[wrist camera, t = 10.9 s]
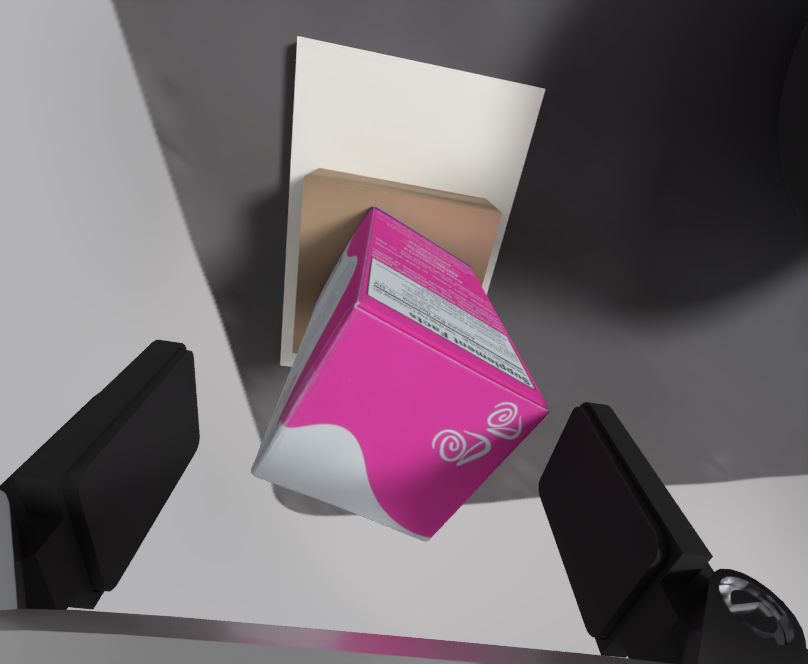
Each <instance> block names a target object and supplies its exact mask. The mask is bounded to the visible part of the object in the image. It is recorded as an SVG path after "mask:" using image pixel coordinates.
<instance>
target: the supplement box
mask: <svg viewBox="0 0 808 664" xmlns="http://www.w3.org/2000/svg"><path fill="white" fill-rule="evenodd" d="M548 413H549V408H548V406H547V404H546V402H545V400H544V398H543V397H542V395H541V393H540V391H539V389H538V387H537V386H536V384H535V382H534V380H533V379H532V377H531V375H530V373H529V371H528V369H527V368H526V366H525V364H524V362H523V360H522V359H521V357H520V355H519V353H518V351H517V349H516V348H515V346H514V344H513V342H512V340H511V338H510V337H509V335H508V333H507V331H506V329H505V328H504V326H503V324H502V322H501V321H500V319H499V317H498V315H497V313H496V312H495V310H494V308H493V306H492V304H491V302H490V301H489V299H488V297H487V295H486V293H485V291H484V290H483V288H482V286H481V284H480V282H479V280H478V279H477V277H476V275H475V273H474V271H473V269H472V267H471V266H469V265H468V264H466V263H465V262H463V261H461V260H460V259H458V258H457V257H455V256H454V255H452V254H450V253H449V252H447V251H446V250H444V249H442V248H441V247H439V246H438V245H436V244H435V243H433V242H432V241H430V240H428V239H427V238H425V237H424V236H422V235H420V234H419V233H417V232H416V231H414V230H413V229H411V228H409V227H408V226H406V225H405V224H403V223H401V222H400V221H398V220H397V219H395V218H393V217H392V216H390V215H388V214H387V213H385V212H383V211H382V210H380V209H378V208H377V207H371V208H370V209H369V211H368V212H367V213H366V215H365V216H364V218H363V220H362V221H361V223H360V224H359V226H358V228H357V229H356V231H355V233H354V234H353V236H352V238H351V240H350V241H349V243H348V245H347V247H346V248H345V250H344V252H343V254H342V255H341V257H340V259H339V261H338V262H337V264H336V266H335V268H334V270H333V271H332V273H331V275H330V277H329V279H328V280H327V282H326V284H325V286H324V288H323V290H322V292H321V294H320V296H319V297H318V299H317V301H316V306H315V308H314V311H313V314H312V316H311V319H310V322H309V324H308V327H307V329H306V332H305V335H304V337H303V340H302V342H301V345H300V347H299V350H298V352H297V355H296V358H295V360H294V363H293V365H292V368H291V370H290V373H289V375H288V378H287V380H286V383H285V385H284V388H283V390H282V393H281V396H280V398H279V401H278V403H277V406H276V408H275V411H274V413H273V416H272V418H271V421H270V423H269V426H268V428H267V431H266V433H265V436H264V439H263V441H262V444H261V446H260V449H259V452H258V454H257V457H256V459H255V462H254V464H253V466H252V468H251V473H252V474H253V475H254V476H256V477H257V478H261V479H264V480H266V481H269V482H271V483H274V484H277V485H280V486H283V487H285V488H288V489H291V490H293V491H296V492H299V493H302V494H304V495H307V496H310V497H313V498H316V499H318V500H321V501H324V502H326V503H329V504H332V505H335V506H337V507H340V508H342V509H345V510H347V511H350V512H353V513H355V514H357V515H360V516H362V517H365V518H367V519H370V520H372V521H375V522H378V523H380V524H382V525H385V526H387V527H390V528H392V529H394V530H397V531H399V532H402V533H404V534H407V535H409V536H412V537H415V538H417V539H420V540H422V541H429V540H430V539H431V538H432V536H433V535H434V534H435V533H436V532H437V531H438V530H439V529H440V528H441V527H442V526H443V525H444V523H445V522H446V521H447V520H448V519H449V518H450V517H451V516H452V515H453V514H454V513H455V512H456V511H457V510H458V509H459V508H460V507H461V506H462V505H463V504H464V502H465V501H466V500H467V499H468V498H469V497H470V496H471V495H472V494H473V493H474V492H475V491H476V490H477V489H478V488H479V486H480V485H481V484H482V483H483V482H484V481H485V480H486V479H487V478H488V477H489V476H490V475H491V474H492V473H493V471H494V470H495V469H496V468H497V467H498V466H499V465H500V464H501V463H502V462H503V461H504V460H505V459H506V458H507V457H508V456H509V455H510V454H511V452H512V451H513V450H514V449H515V448H516V447H517V446H518V445H519V444H520V443H521V442H522V441H523V440H524V439H525V438H526V437H527V436H528V435H529V434H530V432H531V431H532V430H533V429H534V428H535V427H536V426H537V425H538V424H539V423H540V422H541V421H542V420H543V419H544V418H545V416H546V415H547V414H548Z"/></svg>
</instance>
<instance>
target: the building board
mask: <svg viewBox="0 0 808 664" xmlns="http://www.w3.org/2000/svg"><path fill="white" fill-rule="evenodd" d="M544 93H545V89H544V88H539V87H534V86H530V85H525V84H520V83H516V82H511V81H506V80H501V79H497V78H492V77H487V76H483V75H478V74H473V73H468V72H464V71H459V70H454V69H450V68H445V67H440V66H436V65H431V64H426V63H421V62H417V61H412V60H407V59H403V58H398V57H393V56H389V55H384V54H379V53H374V52H370V51H365V50H360V49H356V48H351V47H346V46H342V45H337V44H332V43H327V42H323V41H318V40H313V39H309V38H304V37H299V36H297V54H296V73H295V92H294V111H293V130H292V149H291V169H290V188H289V207H288V226H287V245H286V264H285V283H284V302H283V321H282V341H281V360H280V365H282V366H289V367H292V365H293V363H294V360H295V358H296V355H297V354H296V353H292V350H293V335H294V320H295V305H296V289H297V274H298V259H299V244H300V229H301V214H302V199H303V184H304V176H306V175H308V174H310V173H311V172H313V171H315V170H317V169H318V168H324V169H330V170H335V171H340V172H346V173H351V174H356V175H362V176H367V177H372V178H378V179H383V180H389V181H394V182H399V183H405V184H410V185H415V186H421V187H426V188H431V189H437V190H442V191H448V192H453V193H458V194H464V195H469V196H474V197H480V198H485V199H487V200H488V201H489V202H490V203H491V204H493V205H494V206H495V207H496V208H497V209H498V210H499V211H500V212H502V216H501V219H500V223H499V227H498V230H497V234H496V238H495V241H494V245H493V248H492V252H491V256H490V259H489V263H488V266H487V270H486V274H485V277H484V281H483V284H482V288H483V290H484V291H485V293H486V295H487V292H488V288H489V285H490V281H491V278H492V275H493V271H494V268H495V264H496V261H497V257H498V254H499V250H500V247H501V243H502V240H503V236H504V233H505V229H506V226H507V222H508V219H509V215H510V212H511V208H512V205H513V201H514V198H515V194H516V191H517V187H518V184H519V180H520V177H521V173H522V170H523V166H524V163H525V159H526V156H527V152H528V149H529V145H530V142H531V138H532V135H533V131H534V128H535V124H536V121H537V117H538V114H539V110H540V107H541V103H542V100H543V96H544Z"/></svg>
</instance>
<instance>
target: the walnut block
mask: <svg viewBox="0 0 808 664" xmlns="http://www.w3.org/2000/svg"><path fill="white" fill-rule="evenodd" d="M371 207H377V208H378V209H380V210H382V211H383V212H385V213H387V214H388V215H390V216H392V217H393V218H395V219H397V220H398V221H400V222H401V223H403V224H405V225H406V226H408V227H409V228H411V229H413V230H414V231H416V232H417V233H419V234H420V235H422V236H424V237H425V238H427V239H428V240H430V241H432V242H433V243H435V244H436V245H438V246H439V247H441V248H442V249H444V250H446V251H447V252H449V253H450V254H452V255H454V256H455V257H457V258H458V259H460V260H461V261H463V262H465V263H466V264H468V265H469V266H471V267H472V269H473V271H474V273H475V275H476V277H477V279H478V280H479V282H480V284H481V286H482V284H483V281H484V277H485V274H486V270H487V266H488V263H489V259H490V256H491V252H492V248H493V245H494V241H495V238H496V234H497V230H498V227H499V223H500V219H501V216H502V212H500V211H499V210H498V209H497V208H496V207H495V206H494V205H493V204H491V203H490V202H489V201H488V200H487V199H485V198H480V197H474V196H469V195H464V194H458V193H453V192H448V191H442V190H437V189H431V188H426V187H421V186H415V185H410V184H405V183H399V182H394V181H389V180H383V179H378V178H372V177H367V176H362V175H356V174H351V173H346V172H340V171H335V170H330V169H324V168H318V169H317V170H315V171H313V172H311V173H310V174H308V175H306V176H304V184H303V199H302V214H301V229H300V244H299V259H298V274H297V289H296V305H295V320H294V335H293V350H292V353H296V354H297V352H298V350H299V347H300V345H301V342H302V340H303V337H304V335H305V332H306V329H307V327H308V324H309V322H310V319H311V316H312V314H313V311H314V308H315V306H316V301H317V299H318V297H319V296H320V294H321V292H322V290H323V288H324V286H325V284H326V282H327V280H328V279H329V277H330V275H331V273H332V271H333V270H334V268H335V266H336V264H337V262H338V261H339V259H340V257H341V255H342V254H343V252H344V250H345V248H346V247H347V245H348V243H349V241H350V240H351V238H352V236H353V234H354V233H355V231H356V229H357V228H358V226H359V224H360V223H361V221H362V220H363V218H364V216H365V215H366V213H367V212H368V211H369V209H370V208H371Z"/></svg>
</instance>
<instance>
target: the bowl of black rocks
mask: <svg viewBox="0 0 808 664" xmlns="http://www.w3.org/2000/svg"><path fill="white" fill-rule="evenodd" d="M778 142H779V156H780V164H781V171H782V174H783V178H784V182H785V186H786V188H787V191H788V193H789V196H790V198H791V201H792V203H793V205H794V208H795V210H796V212H797V214H798V216H799V217H800V219H801V221H802V222H803V224H804V226H805V227H806V228H807V230H808V20H807V22H806V24H805V26H804V28H803V31H802V33H801V36H800V38H799V40H798V43H797V45H796V48H795V50H794V53H793V56H792V59H791V62H790V65H789V68H788V72H787V76H786V80H785V83H784V87H783V92H782V98H781V104H780V110H779V123H778Z"/></svg>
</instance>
